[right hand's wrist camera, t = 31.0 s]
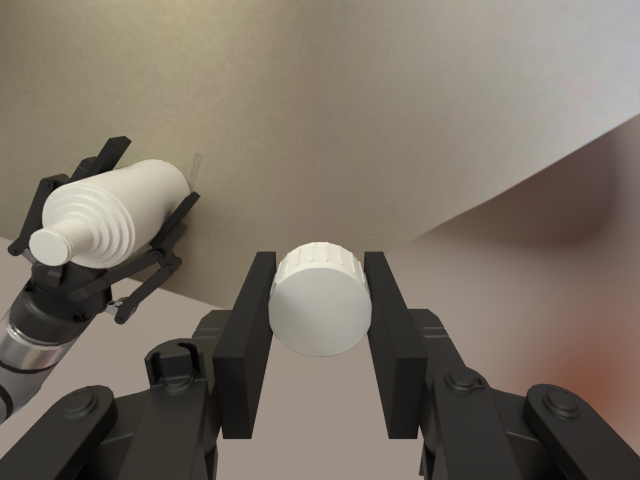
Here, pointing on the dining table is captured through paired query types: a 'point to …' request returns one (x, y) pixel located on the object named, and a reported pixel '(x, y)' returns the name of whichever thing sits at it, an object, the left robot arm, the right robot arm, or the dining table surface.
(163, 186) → the bottle
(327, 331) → the cap
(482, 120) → the dining table surface
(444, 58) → the dining table surface
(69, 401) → the right robot arm
